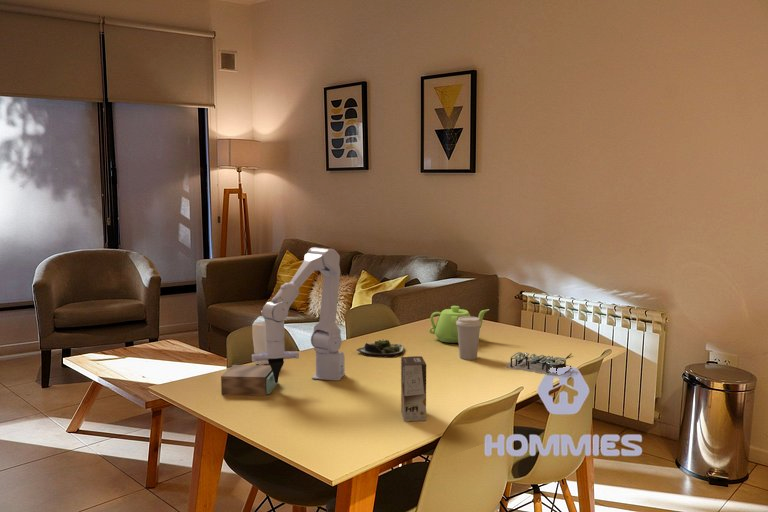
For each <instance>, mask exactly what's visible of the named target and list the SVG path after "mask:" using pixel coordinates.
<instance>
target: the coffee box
mask: <svg viewBox="0 0 768 512" xmlns="http://www.w3.org/2000/svg"><path fill="white" fill-rule="evenodd" d="M400 369H401V370H400V383H401V385H400V386H401V390H400V397H401V398H400V407H401V408H400V409H401V410H400V411H401V415H402V419H403V421H404V422H421V421H422V422H425V421H426V420H427V363H426V362H425V360H424V358H423V356H420V355H417V356H413V355H412V356H401V357H400Z"/></svg>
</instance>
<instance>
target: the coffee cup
mask: <svg viewBox="0 0 768 512" xmlns="http://www.w3.org/2000/svg"><path fill="white" fill-rule="evenodd" d="M470 316H471V315H470ZM470 316H465V317H459V318H458V320H457V322H456V325H457V329H458V342H459V343H458V352H459V353H458V355H459V359H461V360H465V361H473V360H476V359H477V358H478V351H479V350H478V349H479V341H480V333H481V332H480V331H481V328H480V325H481V326H482V325H483V323H482V324H481V321H480V319H479V318H478V317H477V316H471V317H470Z"/></svg>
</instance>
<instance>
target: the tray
mask: <svg viewBox="0 0 768 512" xmlns="http://www.w3.org/2000/svg"><path fill="white" fill-rule="evenodd" d="M277 384H278V383H275V379H274V375H273V371H272V372H271V374H270V375H269V376H268V377H267V378H266V393H267V394H266V395H270V394H271V392H272V391H273V390H274V388H275V387H276V386H277Z"/></svg>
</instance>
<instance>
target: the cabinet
mask: <svg viewBox="0 0 768 512" xmlns="http://www.w3.org/2000/svg"><path fill="white" fill-rule="evenodd" d="M271 372H272V369H271V366H270V364H267V365H257V364H233V365H231V367H229V368H228V369H227V370H226V371H225V372H224V373H222V375H221V376H220V387H221V390H220V391H221V395H233V396H234V395H236V396H237V395H238V396H267V395H268V394H267V393H266V378H267V377H268V376H269V375H270V374H271Z"/></svg>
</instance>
